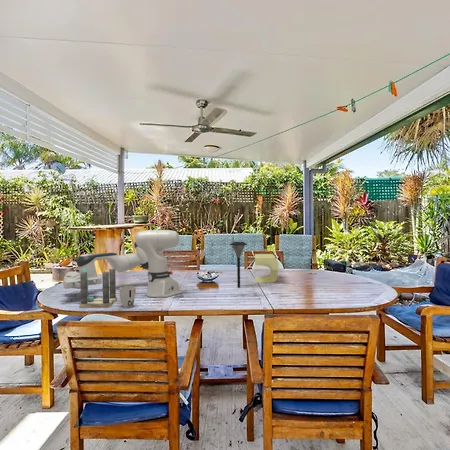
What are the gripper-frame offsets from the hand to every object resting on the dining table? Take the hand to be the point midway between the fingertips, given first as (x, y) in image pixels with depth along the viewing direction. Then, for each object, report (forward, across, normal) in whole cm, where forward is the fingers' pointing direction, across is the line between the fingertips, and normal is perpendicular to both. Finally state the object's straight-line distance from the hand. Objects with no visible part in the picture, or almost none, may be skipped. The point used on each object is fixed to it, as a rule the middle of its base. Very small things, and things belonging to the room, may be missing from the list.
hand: (88, 284), depth 192 cm
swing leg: (+4, +2, -7) cm, 8 cm away
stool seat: (+9, -2, -10) cm, 13 cm away
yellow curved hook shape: (+26, -119, -10) cm, 122 cm away
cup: (+24, -12, -10) cm, 29 cm away
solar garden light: (+30, -87, -10) cm, 93 cm away
